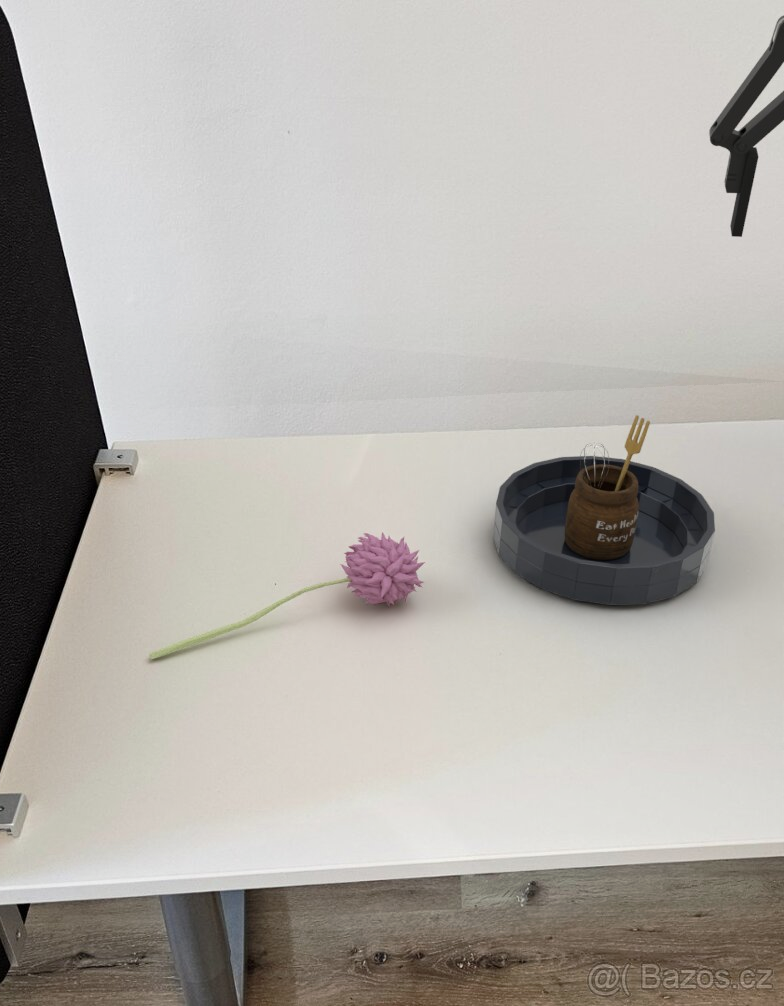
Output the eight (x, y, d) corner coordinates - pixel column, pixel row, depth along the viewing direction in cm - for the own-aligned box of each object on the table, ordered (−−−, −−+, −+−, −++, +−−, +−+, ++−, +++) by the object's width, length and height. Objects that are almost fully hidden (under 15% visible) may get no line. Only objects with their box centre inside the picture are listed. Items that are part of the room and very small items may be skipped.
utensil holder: (548, 538, 99) (563, 424, 93) (599, 517, 101) (617, 404, 95) (597, 570, 94) (615, 452, 88) (649, 547, 97) (671, 431, 90)
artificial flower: (176, 717, 88) (444, 602, 92) (152, 648, 85) (430, 532, 89) (154, 678, 94) (407, 571, 98) (131, 612, 91) (392, 505, 95)
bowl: (702, 508, 102) (711, 468, 100) (707, 626, 88) (718, 582, 86) (505, 485, 108) (509, 446, 106) (480, 591, 94) (484, 549, 92)
